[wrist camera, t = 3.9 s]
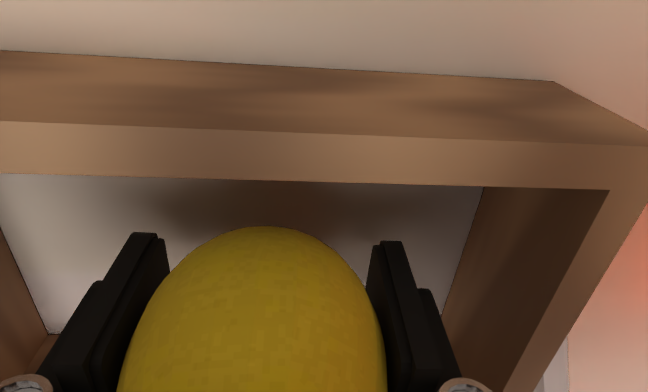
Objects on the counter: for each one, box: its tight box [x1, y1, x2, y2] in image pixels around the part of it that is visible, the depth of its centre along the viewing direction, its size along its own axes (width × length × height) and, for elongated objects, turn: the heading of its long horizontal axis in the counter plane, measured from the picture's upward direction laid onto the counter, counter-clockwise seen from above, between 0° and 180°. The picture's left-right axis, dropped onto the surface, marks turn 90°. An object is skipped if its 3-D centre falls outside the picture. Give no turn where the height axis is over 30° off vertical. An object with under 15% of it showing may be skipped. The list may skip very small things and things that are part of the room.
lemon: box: [116, 226, 388, 392], centre depth 9 cm, size 6×6×8 cm
